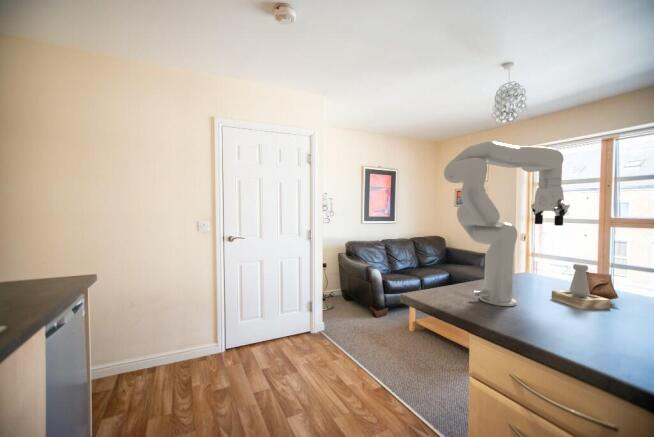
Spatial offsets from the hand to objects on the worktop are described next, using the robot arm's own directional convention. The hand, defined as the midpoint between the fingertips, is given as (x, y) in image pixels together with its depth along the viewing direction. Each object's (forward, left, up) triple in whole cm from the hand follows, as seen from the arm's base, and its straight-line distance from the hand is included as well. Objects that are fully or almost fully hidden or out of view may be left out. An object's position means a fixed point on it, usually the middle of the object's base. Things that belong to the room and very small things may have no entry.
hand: (548, 224), depth 118 cm
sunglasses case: (+19, -6, -26) cm, 33 cm away
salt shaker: (+5, -10, -28) cm, 30 cm away
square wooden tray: (+5, -10, -30) cm, 32 cm away
